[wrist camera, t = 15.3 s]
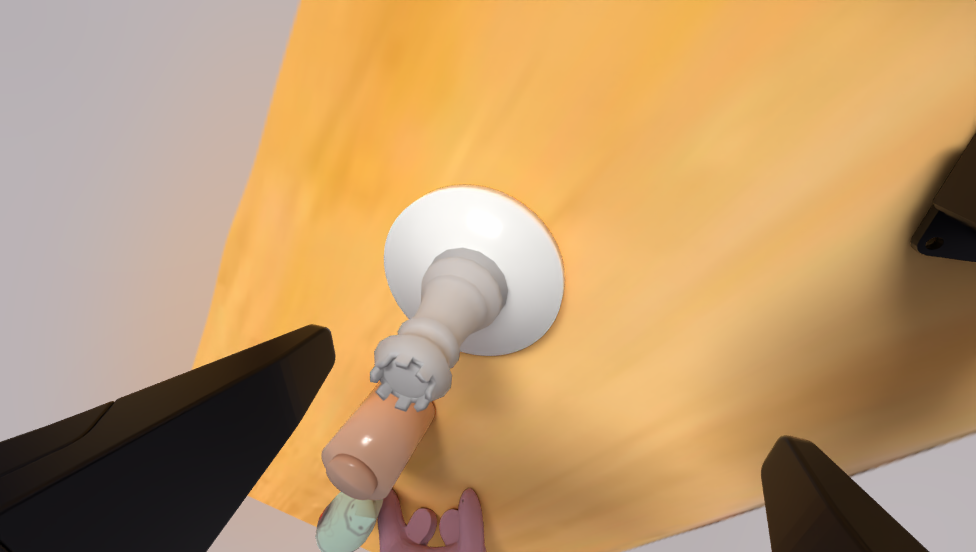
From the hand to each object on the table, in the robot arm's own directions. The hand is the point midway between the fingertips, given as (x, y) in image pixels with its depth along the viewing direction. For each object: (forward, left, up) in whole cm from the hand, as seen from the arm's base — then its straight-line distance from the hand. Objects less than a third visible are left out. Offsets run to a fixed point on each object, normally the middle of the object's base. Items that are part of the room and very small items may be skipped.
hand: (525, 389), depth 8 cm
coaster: (+5, +5, -12) cm, 14 cm away
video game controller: (+7, +29, -13) cm, 33 cm away
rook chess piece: (+5, +5, -12) cm, 14 cm away
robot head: (+14, +27, -13) cm, 33 cm away
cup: (+10, +17, -12) cm, 23 cm away
